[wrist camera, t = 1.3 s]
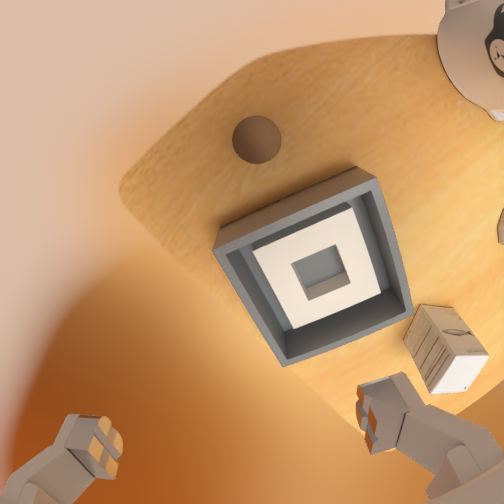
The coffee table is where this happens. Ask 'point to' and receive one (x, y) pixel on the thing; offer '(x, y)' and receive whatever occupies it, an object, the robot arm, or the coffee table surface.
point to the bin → (318, 266)
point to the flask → (501, 229)
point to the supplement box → (444, 349)
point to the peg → (256, 139)
